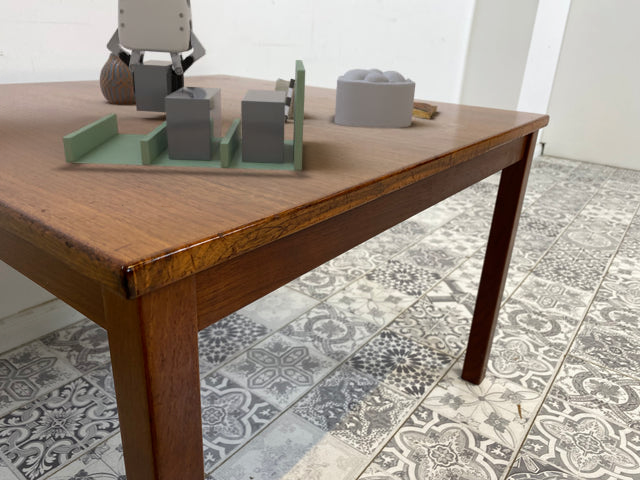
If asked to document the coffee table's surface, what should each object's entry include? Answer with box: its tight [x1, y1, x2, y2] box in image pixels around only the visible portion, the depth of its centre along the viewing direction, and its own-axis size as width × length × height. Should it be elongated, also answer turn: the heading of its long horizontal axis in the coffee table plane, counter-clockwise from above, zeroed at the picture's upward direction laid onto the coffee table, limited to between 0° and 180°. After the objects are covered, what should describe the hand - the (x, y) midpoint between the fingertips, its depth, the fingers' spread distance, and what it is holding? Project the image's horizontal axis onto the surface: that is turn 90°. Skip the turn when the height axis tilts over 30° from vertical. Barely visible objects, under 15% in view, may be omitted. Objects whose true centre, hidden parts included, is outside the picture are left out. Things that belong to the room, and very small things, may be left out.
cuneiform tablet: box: [273, 77, 306, 124], centre depth 89 cm, size 7×4×12 cm
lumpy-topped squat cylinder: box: [334, 68, 416, 129], centre depth 88 cm, size 10×13×9 cm
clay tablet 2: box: [240, 88, 286, 163], centre depth 60 cm, size 4×10×6 cm, turn 3°
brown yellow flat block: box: [412, 101, 438, 120], centre depth 100 cm, size 11×8×2 cm
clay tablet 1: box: [165, 86, 223, 161], centre depth 59 cm, size 4×10×6 cm, turn 3°
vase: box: [99, 52, 136, 105], centre depth 94 cm, size 7×7×9 cm
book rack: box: [62, 59, 306, 172], centre depth 59 cm, size 24×15×11 cm, turn 93°
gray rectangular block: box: [133, 59, 174, 113], centre depth 79 cm, size 4×10×6 cm, turn 3°
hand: (159, 98), depth 80 cm, fingers closed on gray rectangular block, 4 cm apart
